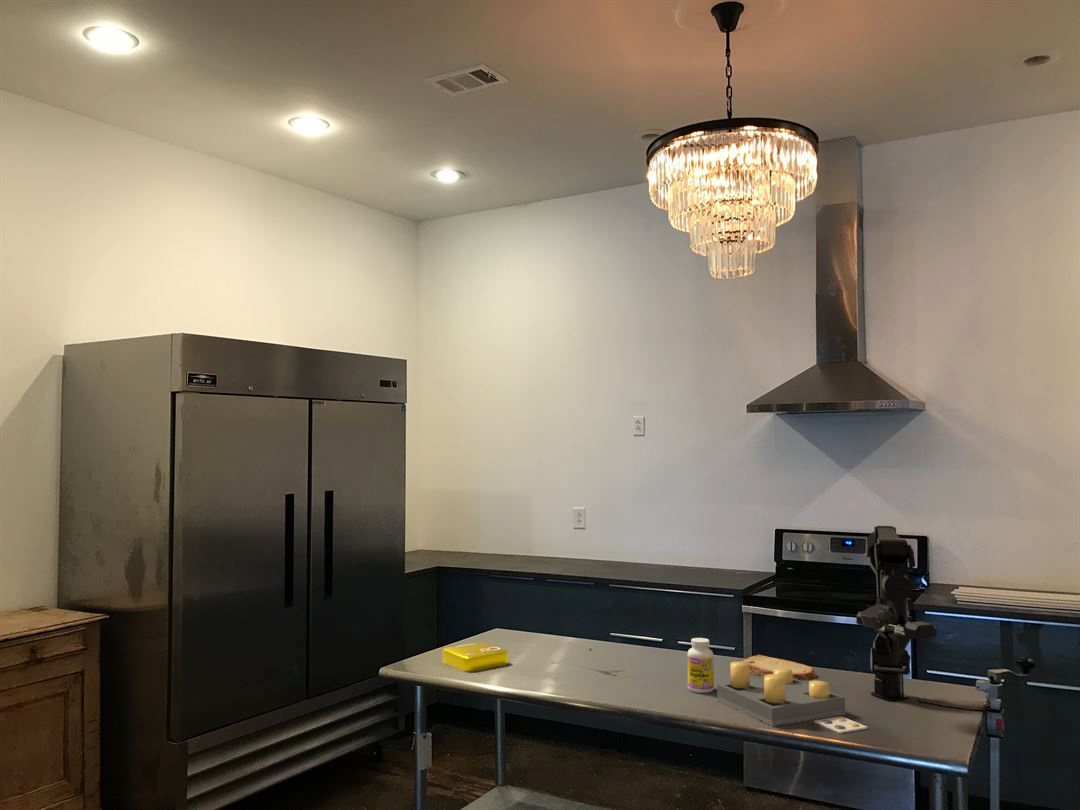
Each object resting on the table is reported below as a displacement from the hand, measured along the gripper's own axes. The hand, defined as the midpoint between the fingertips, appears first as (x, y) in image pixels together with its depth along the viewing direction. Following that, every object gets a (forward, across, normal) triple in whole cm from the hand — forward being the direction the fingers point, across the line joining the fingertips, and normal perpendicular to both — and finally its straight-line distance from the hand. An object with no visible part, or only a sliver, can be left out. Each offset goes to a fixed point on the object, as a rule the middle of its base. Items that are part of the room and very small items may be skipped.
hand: (895, 662), depth 189 cm
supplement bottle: (+13, -38, -28) cm, 49 cm away
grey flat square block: (+13, -18, -19) cm, 29 cm away
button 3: (+12, -24, -13) cm, 30 cm away
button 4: (+12, -11, -13) cm, 21 cm away
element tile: (+14, -88, -73) cm, 115 cm away
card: (+13, -2, -15) cm, 20 cm away
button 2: (+9, -11, -26) cm, 29 cm away
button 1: (+9, -24, -26) cm, 36 cm away
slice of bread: (+14, -45, +1) cm, 47 cm away
